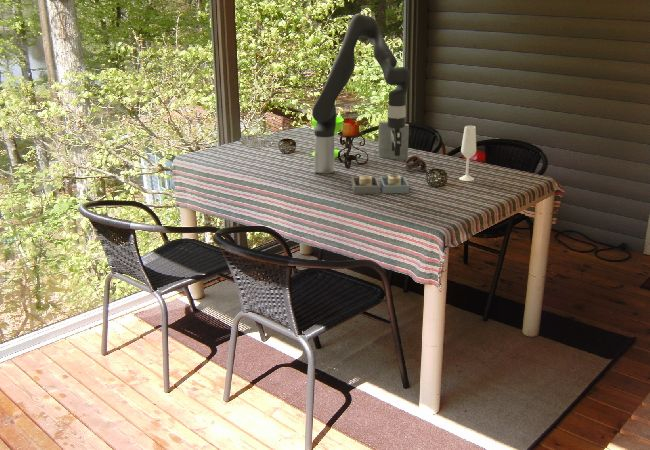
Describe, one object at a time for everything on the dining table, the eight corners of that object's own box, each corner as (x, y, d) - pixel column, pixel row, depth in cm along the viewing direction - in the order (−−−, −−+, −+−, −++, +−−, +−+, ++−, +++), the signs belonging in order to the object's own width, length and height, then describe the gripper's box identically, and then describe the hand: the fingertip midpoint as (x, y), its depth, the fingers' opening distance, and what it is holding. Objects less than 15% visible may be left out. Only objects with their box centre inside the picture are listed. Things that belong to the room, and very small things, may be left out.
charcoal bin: (354, 194, 311) (354, 186, 310) (351, 185, 324) (351, 177, 323) (379, 194, 311) (380, 186, 310) (376, 184, 324) (376, 176, 323)
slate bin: (383, 194, 311) (383, 186, 310) (379, 184, 324) (379, 176, 323) (409, 194, 312) (409, 186, 310) (404, 184, 325) (404, 176, 324)
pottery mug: (429, 174, 341) (422, 160, 337) (410, 182, 344) (403, 168, 340) (427, 161, 351) (420, 148, 347) (409, 169, 354) (402, 155, 350)
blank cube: (360, 190, 315) (360, 179, 313) (359, 186, 320) (359, 175, 318) (371, 190, 315) (372, 178, 313) (370, 186, 320) (370, 175, 318)
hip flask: (408, 158, 365) (410, 119, 358) (405, 160, 362) (406, 120, 355) (379, 154, 372) (380, 116, 365) (376, 156, 369) (377, 117, 362)
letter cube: (389, 189, 315) (389, 178, 314) (387, 186, 320) (388, 174, 318) (400, 189, 316) (401, 178, 314) (399, 186, 320) (399, 174, 318)
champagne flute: (464, 175, 337) (468, 124, 329) (477, 178, 333) (480, 126, 324) (456, 178, 333) (459, 126, 324) (468, 181, 328) (472, 129, 320)
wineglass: (343, 158, 366) (343, 123, 359) (311, 158, 366) (311, 123, 360) (343, 150, 381) (343, 116, 374) (312, 150, 381) (312, 116, 375)
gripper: (385, 112, 313) (384, 149, 319) (389, 119, 300) (389, 157, 306) (402, 112, 314) (402, 148, 319) (408, 119, 300) (407, 157, 306)
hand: (395, 153), depth 313 cm, fingers open, 8 cm apart
